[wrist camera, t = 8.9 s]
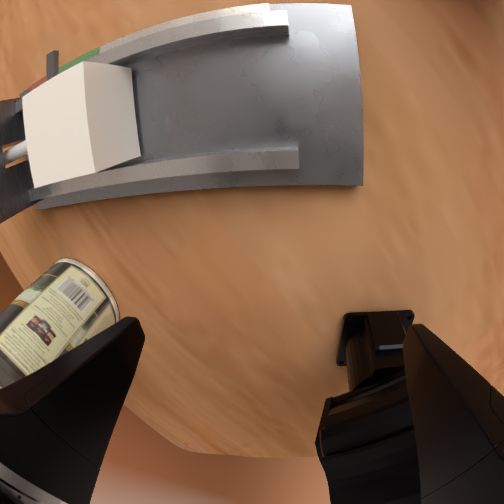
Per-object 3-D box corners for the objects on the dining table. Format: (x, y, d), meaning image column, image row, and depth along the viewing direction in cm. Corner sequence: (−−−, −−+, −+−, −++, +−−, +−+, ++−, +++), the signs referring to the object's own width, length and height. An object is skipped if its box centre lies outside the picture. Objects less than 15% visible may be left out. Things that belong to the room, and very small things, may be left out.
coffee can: (58, 312, 29) (-3, 385, 17) (47, 244, 24) (-42, 321, 12) (122, 345, 29) (66, 439, 17) (120, 278, 24) (29, 390, 12)
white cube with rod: (140, 155, 17) (95, 172, 12) (22, 186, 19) (-14, 204, 15) (130, 31, 13) (84, 16, 8) (11, 97, 15) (-28, 105, 11)
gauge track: (358, 181, 17) (392, 220, 11) (45, 205, 22) (-6, 236, 15) (347, 11, 12) (373, -38, 5) (28, 93, 16) (-29, 103, 10)
